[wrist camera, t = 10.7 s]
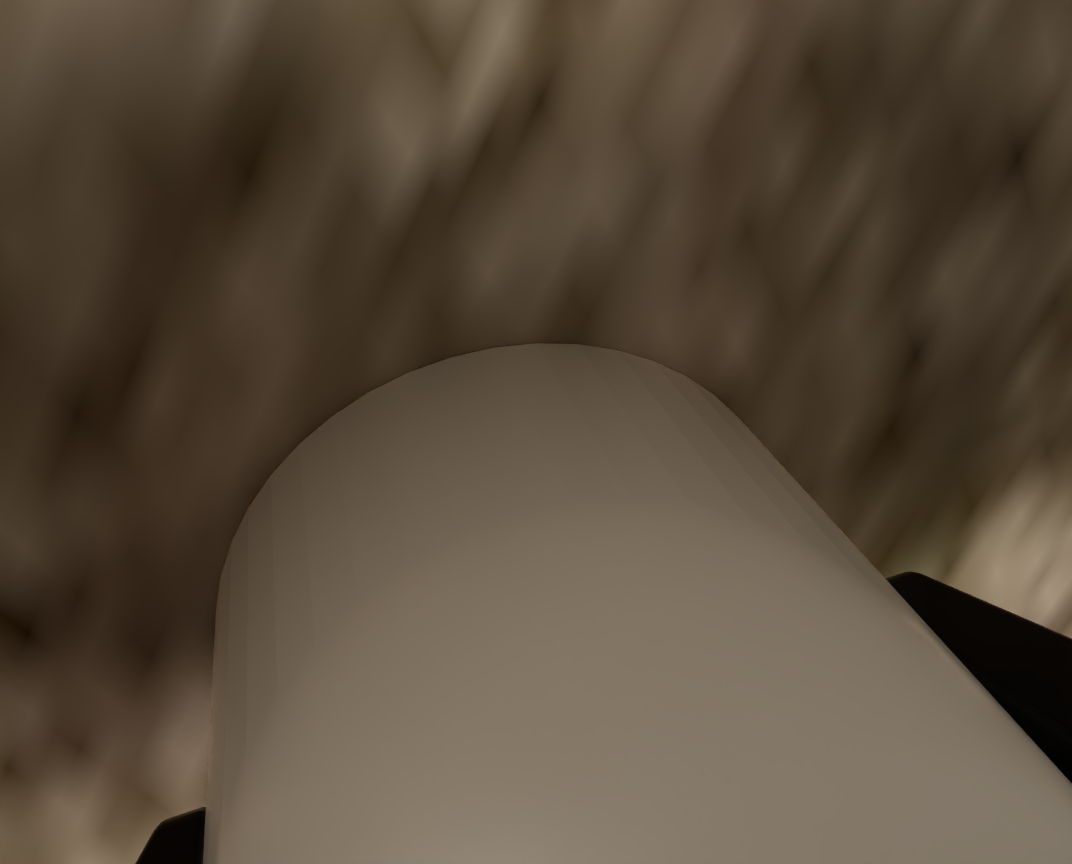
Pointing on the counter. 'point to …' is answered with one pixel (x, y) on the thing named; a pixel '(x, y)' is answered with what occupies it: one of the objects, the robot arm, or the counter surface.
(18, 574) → the counter surface
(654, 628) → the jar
